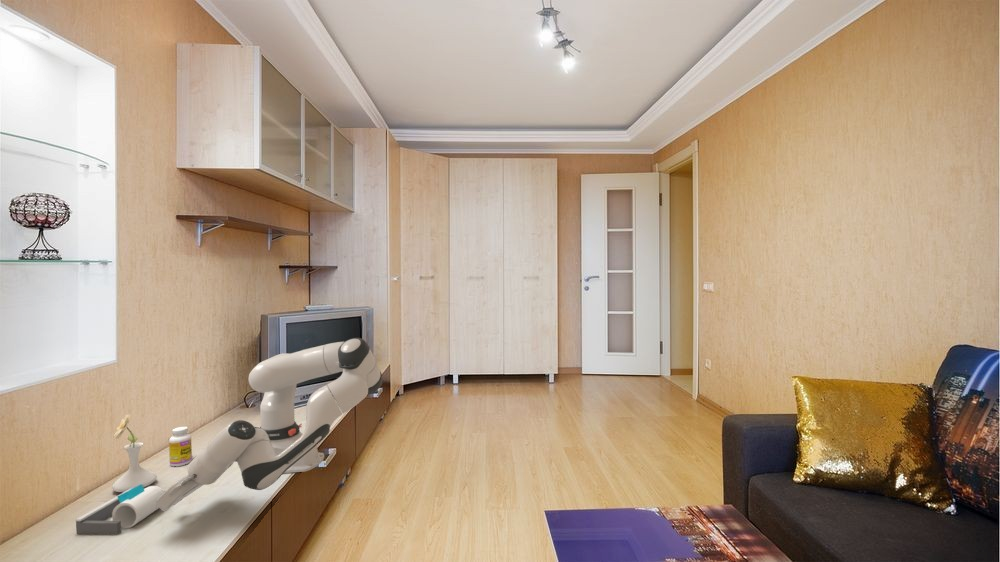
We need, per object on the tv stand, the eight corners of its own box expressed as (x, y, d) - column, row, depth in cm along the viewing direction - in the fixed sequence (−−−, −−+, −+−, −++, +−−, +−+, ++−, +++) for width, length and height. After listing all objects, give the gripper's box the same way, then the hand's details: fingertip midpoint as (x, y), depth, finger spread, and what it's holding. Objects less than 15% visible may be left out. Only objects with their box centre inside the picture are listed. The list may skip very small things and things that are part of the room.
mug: (161, 472, 134) (127, 492, 122) (174, 499, 134) (142, 522, 122) (127, 488, 134) (89, 509, 122) (140, 515, 134) (104, 539, 122)
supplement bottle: (180, 467, 160) (179, 432, 159) (165, 466, 161) (163, 431, 161) (196, 460, 166) (195, 426, 166) (181, 458, 167) (180, 425, 167)
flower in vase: (120, 483, 149) (117, 409, 148) (161, 476, 153) (158, 404, 152) (103, 501, 137) (100, 421, 136) (149, 493, 141) (146, 415, 141)
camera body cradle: (168, 500, 136) (167, 487, 136) (117, 534, 119) (116, 519, 119) (132, 500, 137) (131, 487, 137) (76, 534, 120) (75, 519, 120)
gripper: (187, 493, 116) (152, 530, 117) (237, 460, 136) (207, 491, 137) (170, 476, 116) (135, 513, 117) (223, 445, 137) (193, 477, 137)
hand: (175, 501), depth 127 cm, fingers closed
